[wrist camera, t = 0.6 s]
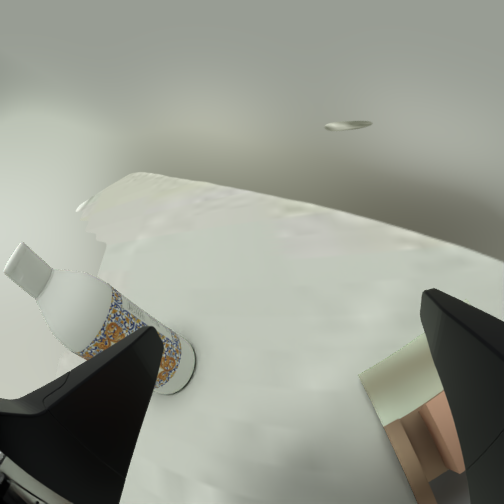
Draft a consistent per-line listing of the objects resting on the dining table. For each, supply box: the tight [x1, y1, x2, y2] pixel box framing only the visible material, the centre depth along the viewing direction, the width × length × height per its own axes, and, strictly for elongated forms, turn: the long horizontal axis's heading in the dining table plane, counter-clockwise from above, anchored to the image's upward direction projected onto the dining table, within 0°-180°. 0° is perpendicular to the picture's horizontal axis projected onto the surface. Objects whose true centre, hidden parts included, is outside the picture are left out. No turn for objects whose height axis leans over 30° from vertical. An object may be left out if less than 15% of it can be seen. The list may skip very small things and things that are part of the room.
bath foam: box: [3, 242, 195, 394], centre depth 21 cm, size 7×7×20 cm
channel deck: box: [358, 299, 471, 504], centre depth 9 cm, size 18×10×4 cm, turn 17°
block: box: [419, 391, 465, 474], centre depth 9 cm, size 5×5×4 cm
